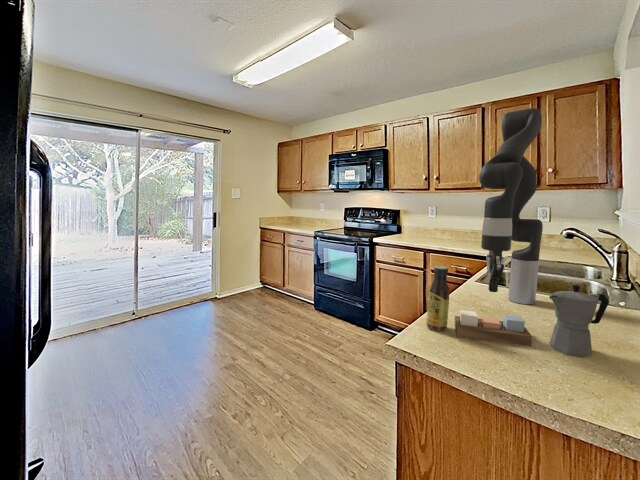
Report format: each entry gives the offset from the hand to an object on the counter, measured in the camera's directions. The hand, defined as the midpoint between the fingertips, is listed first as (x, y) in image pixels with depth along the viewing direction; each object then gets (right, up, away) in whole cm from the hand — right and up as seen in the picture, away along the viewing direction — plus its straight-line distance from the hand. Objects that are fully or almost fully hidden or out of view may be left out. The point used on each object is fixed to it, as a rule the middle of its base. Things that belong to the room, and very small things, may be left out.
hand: (492, 291), depth 94 cm
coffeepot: (+18, -15, -8) cm, 24 cm away
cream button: (-6, -11, +3) cm, 13 cm away
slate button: (+6, -12, -1) cm, 13 cm away
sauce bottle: (-14, -13, +7) cm, 20 cm away
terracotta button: (0, -13, +1) cm, 13 cm away
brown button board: (0, -13, +2) cm, 14 cm away
